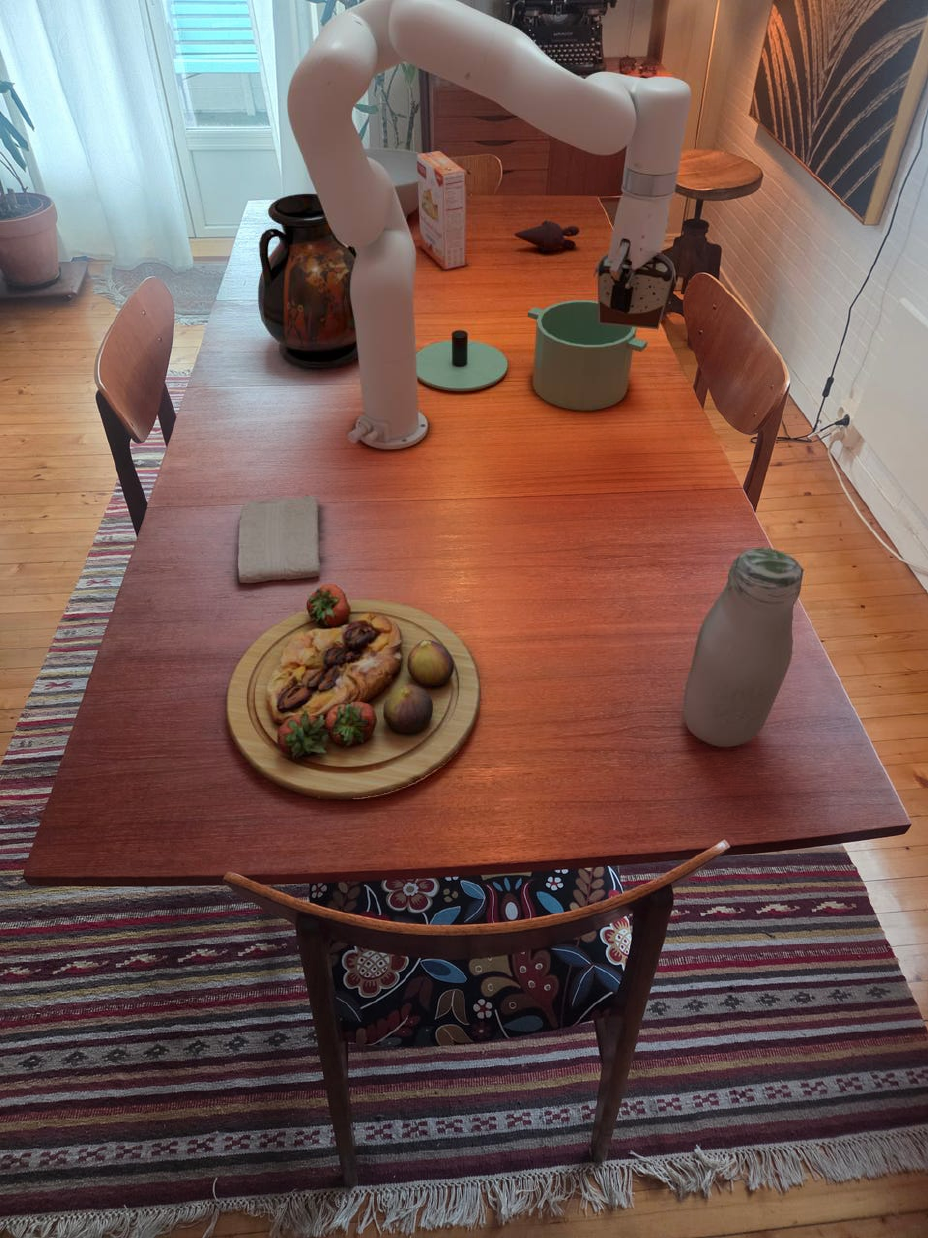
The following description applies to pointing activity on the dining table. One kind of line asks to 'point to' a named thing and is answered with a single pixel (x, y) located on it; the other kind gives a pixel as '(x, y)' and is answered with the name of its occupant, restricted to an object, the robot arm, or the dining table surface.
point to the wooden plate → (352, 697)
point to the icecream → (549, 236)
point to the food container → (637, 293)
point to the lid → (460, 364)
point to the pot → (581, 356)
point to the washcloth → (279, 540)
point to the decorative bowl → (400, 174)
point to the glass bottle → (743, 649)
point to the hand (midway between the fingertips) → (630, 300)
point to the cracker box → (442, 209)
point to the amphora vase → (307, 286)
